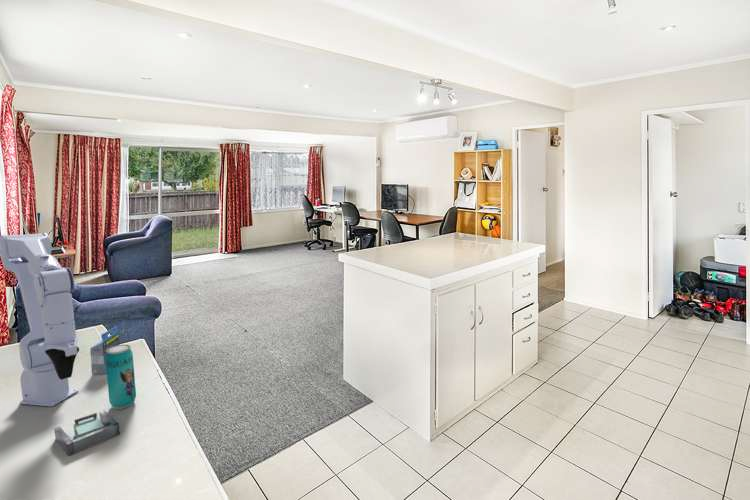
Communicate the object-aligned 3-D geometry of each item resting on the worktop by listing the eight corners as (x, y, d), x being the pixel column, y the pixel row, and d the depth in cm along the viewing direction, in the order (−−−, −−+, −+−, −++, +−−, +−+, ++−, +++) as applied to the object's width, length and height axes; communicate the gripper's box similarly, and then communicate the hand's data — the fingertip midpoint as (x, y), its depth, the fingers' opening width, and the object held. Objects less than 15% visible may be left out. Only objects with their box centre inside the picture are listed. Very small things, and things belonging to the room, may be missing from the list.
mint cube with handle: (74, 436, 89) (72, 419, 88) (98, 428, 92) (97, 411, 92) (80, 447, 85) (78, 430, 85) (104, 438, 89) (103, 421, 88)
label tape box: (108, 362, 127) (104, 325, 125) (121, 362, 127) (118, 324, 125) (91, 375, 118) (87, 335, 116) (106, 374, 118) (102, 334, 117)
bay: (55, 439, 88) (54, 428, 87) (105, 419, 95) (104, 410, 95) (68, 455, 82) (67, 444, 82) (120, 434, 90) (119, 423, 89)
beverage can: (124, 411, 99) (118, 353, 96) (104, 409, 100) (98, 351, 98) (141, 400, 104) (137, 345, 102) (122, 397, 105) (118, 343, 103)
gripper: (28, 319, 93) (35, 375, 95) (46, 332, 85) (53, 393, 86) (65, 312, 99) (71, 365, 101) (85, 324, 90) (91, 381, 92)
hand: (65, 377), depth 94 cm, fingers closed
